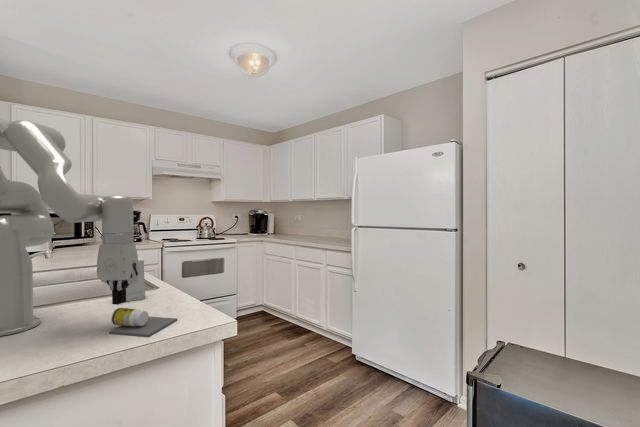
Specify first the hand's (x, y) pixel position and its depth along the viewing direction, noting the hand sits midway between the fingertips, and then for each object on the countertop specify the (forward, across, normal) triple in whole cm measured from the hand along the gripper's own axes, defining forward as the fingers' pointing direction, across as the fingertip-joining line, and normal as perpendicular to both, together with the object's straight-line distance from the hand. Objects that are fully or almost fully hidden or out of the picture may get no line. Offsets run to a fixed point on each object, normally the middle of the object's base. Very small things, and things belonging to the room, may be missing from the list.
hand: (119, 302), depth 88 cm
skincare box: (+7, -16, +23) cm, 29 cm away
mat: (+7, +8, +1) cm, 10 cm away
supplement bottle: (+4, 0, 0) cm, 4 cm away
